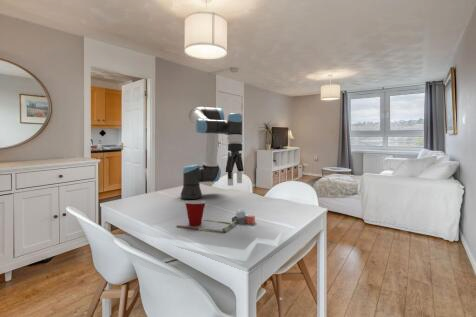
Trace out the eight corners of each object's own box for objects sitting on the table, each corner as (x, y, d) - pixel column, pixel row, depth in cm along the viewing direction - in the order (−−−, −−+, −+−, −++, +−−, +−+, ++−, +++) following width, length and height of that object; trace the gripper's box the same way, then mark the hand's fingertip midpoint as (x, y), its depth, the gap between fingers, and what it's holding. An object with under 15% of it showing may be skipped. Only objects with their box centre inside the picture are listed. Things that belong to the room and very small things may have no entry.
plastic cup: (209, 222, 126) (209, 199, 126) (200, 228, 116) (200, 203, 116) (191, 221, 130) (191, 198, 130) (180, 226, 120) (180, 202, 120)
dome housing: (236, 220, 132) (236, 213, 132) (256, 222, 128) (256, 215, 128) (231, 223, 125) (231, 216, 125) (252, 225, 121) (252, 218, 121)
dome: (237, 217, 130) (237, 208, 130) (246, 218, 128) (246, 209, 128) (234, 219, 126) (234, 210, 126) (243, 220, 124) (243, 211, 124)
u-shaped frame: (192, 220, 132) (192, 216, 132) (236, 224, 123) (236, 220, 123) (176, 227, 118) (176, 223, 118) (224, 233, 109) (224, 228, 109)
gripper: (236, 145, 140) (236, 182, 139) (218, 141, 116) (218, 186, 116) (248, 144, 137) (249, 182, 137) (233, 141, 114) (233, 186, 113)
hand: (235, 184), depth 126 cm, fingers open, 13 cm apart
